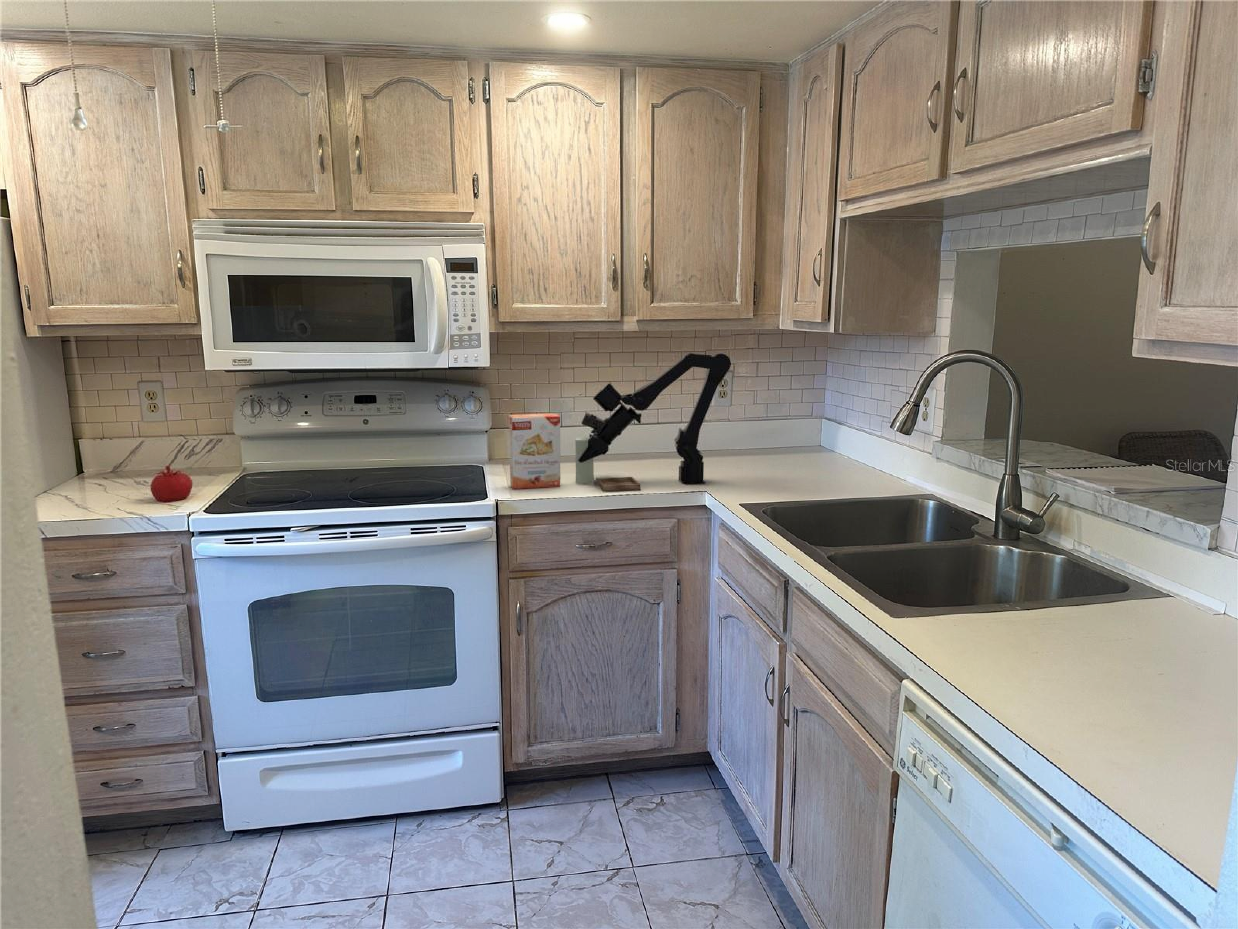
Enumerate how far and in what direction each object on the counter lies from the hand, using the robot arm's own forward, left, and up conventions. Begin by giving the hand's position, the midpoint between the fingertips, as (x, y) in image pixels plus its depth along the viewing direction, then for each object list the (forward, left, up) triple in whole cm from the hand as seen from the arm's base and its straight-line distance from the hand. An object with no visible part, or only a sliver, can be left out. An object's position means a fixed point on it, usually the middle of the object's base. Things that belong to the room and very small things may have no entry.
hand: (579, 459), depth 243 cm
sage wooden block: (-1, 0, -7) cm, 7 cm away
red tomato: (+112, -2, -7) cm, 112 cm away
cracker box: (+14, +3, -7) cm, 16 cm away
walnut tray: (-9, +10, -7) cm, 15 cm away
